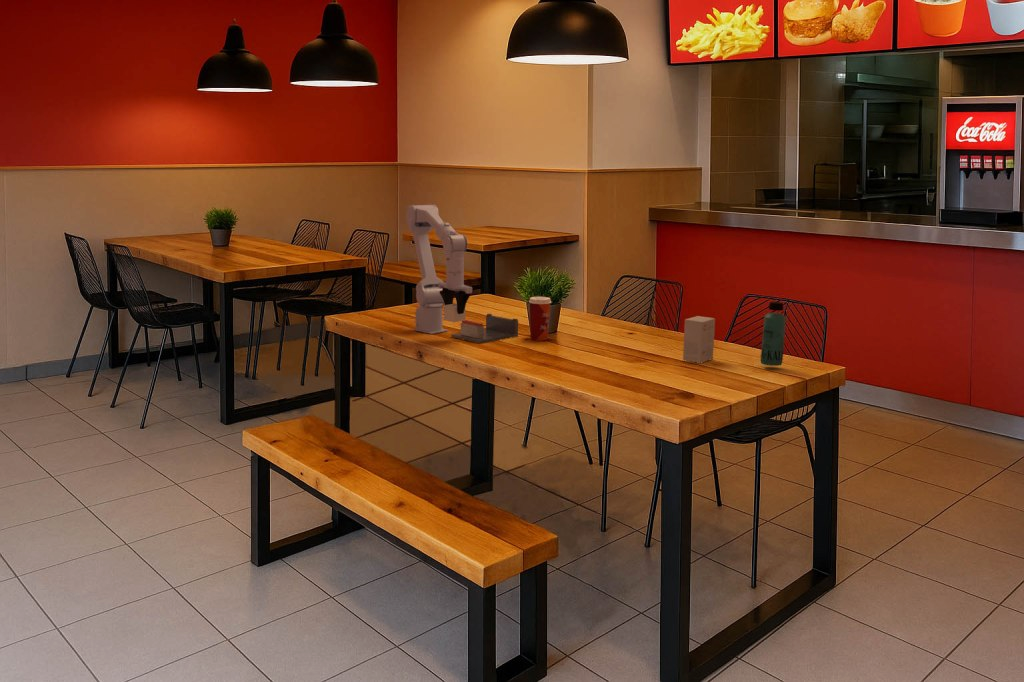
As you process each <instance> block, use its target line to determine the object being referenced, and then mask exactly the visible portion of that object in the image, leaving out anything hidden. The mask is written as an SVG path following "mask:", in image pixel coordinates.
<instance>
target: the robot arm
mask: <svg viewBox="0 0 1024 682" xmlns="http://www.w3.org/2000/svg"><path fill="white" fill-rule="evenodd" d="M406 220H407V227H408V229H409V232H410V233H412V237H413V242H414V246H415V247H414V248H415V250H416V251H415V252H416V256H417V261H418V265H419V271H420V275H421V280H420V281H419V282H418V283H417V284H416V286H415V291H416V292H415V294H416V295H415V298H416V302H417V303H418V306H417V308H416V309H415V312H414V313H415V316H414V317H415V328H413V331H416V332H421V333H425V334H431V335H432V334H440V333H443V332H448V329H447V328H446V329H445V328H443V321H444V305H449V304H452V303H454V298H455V300H456V301H455V302H456V303H457V312H458V314H463V313H464V309H465V310H466V305H467V302H468V301H469V298H470V297H471V295H472V293H473V287H472V286H469V285H466V284H465V281H464V280H465V279H464V278H465V277H464V276H465V270H464V267H465V264H464V262H465V258H464V257H465V252H466V251H467V249H468V239H467V237H466V236H465V234H464V233H461V234H460V233H458V232H457V231H456V230H455V229H454V228H453V226H451V223H449V222H444V221H443V219H442V218H441V217H440V212H439V207H437V205H436V204H424V205H423V204H418V205H417V204H415V205H414V204H410V205H409V206H408V207H407V209H406ZM433 229H434V230H435V232H434V233H435V236H436V237H437V238H438V239H439V240H440V241H441V243H442V248H443V251H444V258H445V260H446V262H445V264H446V265H445V267H446V268H445V269H446V273H445V275H446V277H445V281H446V282H445V281H444V280H442V279H441V278H439V277H438V276H437V274H436V268H435V264H434V259H433V255H432V249H431V244H430V237H429V235H428V234H429V233H430V232H431V231H433Z"/></svg>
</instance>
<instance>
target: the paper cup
mask: <svg viewBox="0 0 1024 682" xmlns="http://www.w3.org/2000/svg"><path fill="white" fill-rule="evenodd" d="M528 303H529V321H530V323H529V325H530V326H529V328H530V339H531V340H532V341H535V340H539V341H538V342H543V341H542V340H545V341H548V339H549V329H550V328H549V325H550V314H551V304H552V300H551V298H550V297H547V296H531V297H530V298H529V300H528Z"/></svg>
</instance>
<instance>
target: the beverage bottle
mask: <svg viewBox="0 0 1024 682" xmlns="http://www.w3.org/2000/svg"><path fill="white" fill-rule="evenodd" d="M768 310H770V311H784V303H783V302H780V301H770V302H769V304H768ZM763 318H764V319H763V330H762V339H761V341H762V342H761V350H760V358H759V359H760V364H762V365H765V366H769V367H770V366H772V367H773V366H775V367H776V366H777V367H778V366H781V365H782V364H783V360H784V349H785V333H786V332H785V331H786V322H787V317H786V316H785V315H784V314H783V313H780V312H767V314H765V315H764V316H763Z"/></svg>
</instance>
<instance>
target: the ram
mask: <svg viewBox="0 0 1024 682" xmlns="http://www.w3.org/2000/svg"><path fill="white" fill-rule="evenodd" d="M484 328H485V326H484V324H483V323H482V322H477V321H471V320H467V319H465V321H461V322H460V333H461V335H464V336H468V337H473V338H482V337H484Z"/></svg>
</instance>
